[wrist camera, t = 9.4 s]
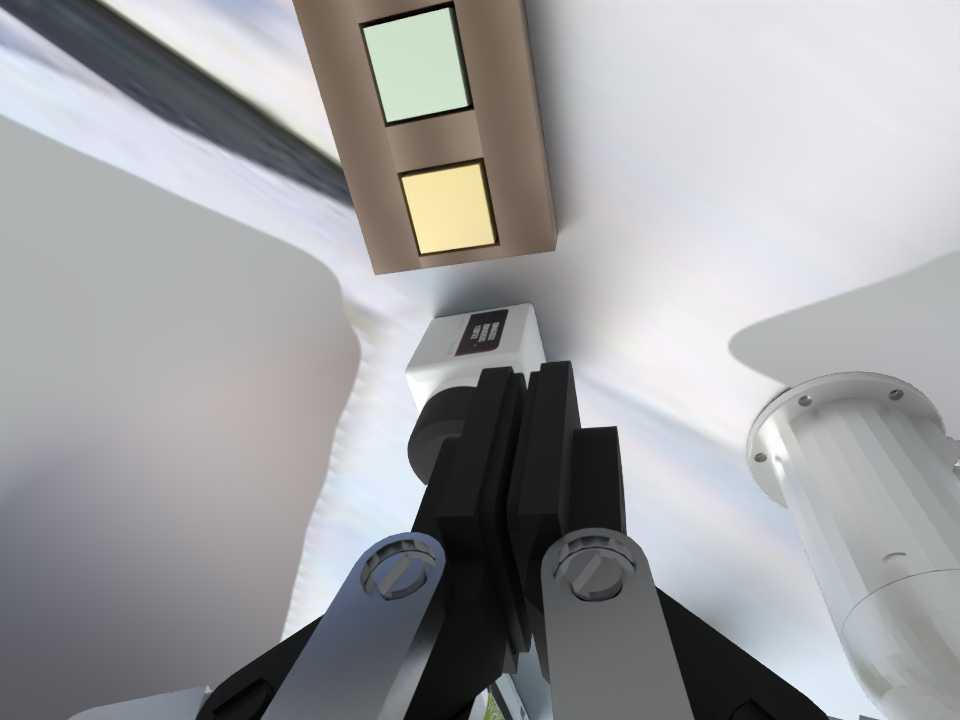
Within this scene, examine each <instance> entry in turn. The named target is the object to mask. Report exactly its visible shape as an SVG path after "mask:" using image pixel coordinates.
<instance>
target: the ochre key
mask: <svg viewBox="0 0 960 720" xmlns="http://www.w3.org/2000/svg"><path fill="white" fill-rule="evenodd" d="M402 181H403V185H404V189H405V193H406V197H407V201H408V205H409V208H410V212H411V216H412V220H413V224H414V228H415V232H416V236H417V240H418V243H419V247H420V251H421V254H422V253H429V252H436V251H443V250H450V249H457V248H464V247H471V246H478V245H485V244H492V243H495V240H496V238H497V236H498V230H497V225H496V220H495V214H494V209H493V204H492V199H491V193H490V188H489V183H488V178H487V172H486V167H485V162H484V157H482V158H477V159H471V160H466V161H460V162H454V163H449V164H443V165H438V166H432V167H426V168H421V169H415V170H410V171H409V172H408V173H407V174H406V175H405V176H403V177H402Z"/></svg>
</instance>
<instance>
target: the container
mask: <svg viewBox="0 0 960 720" xmlns="http://www.w3.org/2000/svg"><path fill="white" fill-rule="evenodd" d="M541 363H546V359H545V354H544V350H543V346H542V341H541V337H540V333H539V328H538V324H537V320H536V315H535V311H534V307H533V305H532V304H530V303H525V304H519V305H513V306H507V307H501V308H495V309H489V310H483V311H477V312H471V313H465V314H459V315H453V316H447V317H441V318H435V319H433V320H432V321H431V323H430V324H429V326H428V328H427V330H426V332H425V334H424V336H423V338H422V340H421V341H420V343H419V345H418V347H417V349H416V351H415V353H414V355H413V357H412V358H411V360H410V362H409V364H408V366H407V368H406V370H405V376H406V378H407V381H408V384H409V387H410V390H411V392H412V395H413V398H414V401H415V403H416V406H417V409H418V412H419V414H420V416H419V418H418V420H417V422H416V425H415V427H414V429H413V432H412V434H411V436H410V439H409V442H408V458H409V462H410V465H411V467H412V469H413V471H414V472H415V474H416V475H417V477H418V478H419V479H420V480H421V481H422V482H423V483H424V484H425V485H426V486H427V485H428V482H429V479H430V477H431V474H432V471H433V468H434V465H435V463H436V460H437V457H438V454H439V451H440V448H441V446H442V443H443V441H444V439H445V438H447V437H456V436H461V434H462V431H463V428H464V425H465V422H466V418H467V415H468V412H469V409H470V406H471V403H472V400H473V396H474V393H475V390H476V387H477V384H478V381H479V377H480V374H481V371H482V369H484V368H495V367H506V366H512V368H513V370H514V373H522V372H523V374H524V376H525V381H526V386H527V388H528V383H529V377H530V373H531V372H533V371H540V366H541Z"/></svg>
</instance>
